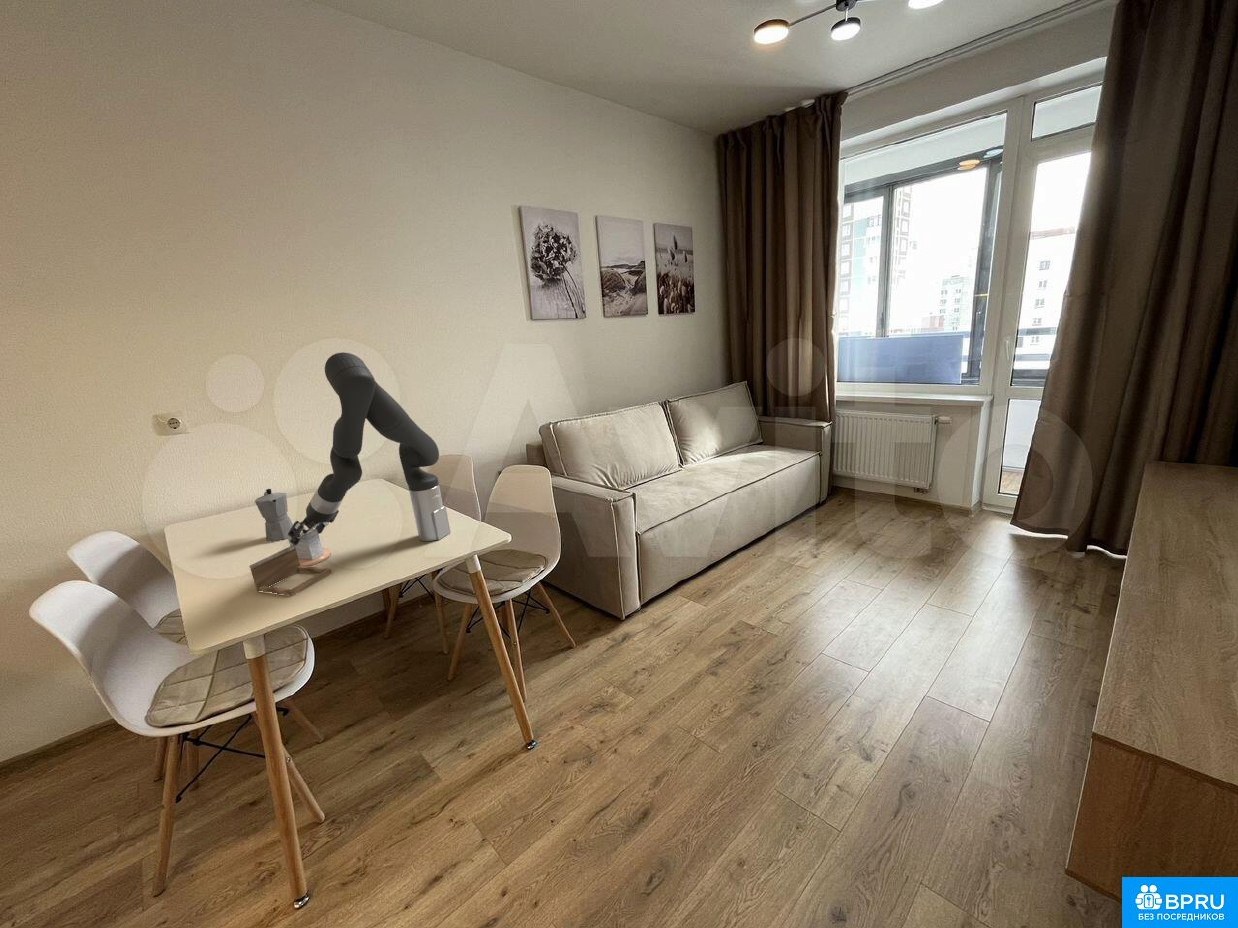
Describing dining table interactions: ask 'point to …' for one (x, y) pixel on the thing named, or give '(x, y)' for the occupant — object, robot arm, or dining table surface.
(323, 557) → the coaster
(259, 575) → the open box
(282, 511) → the coffeepot
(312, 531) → the medicine box
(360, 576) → the dining table surface
